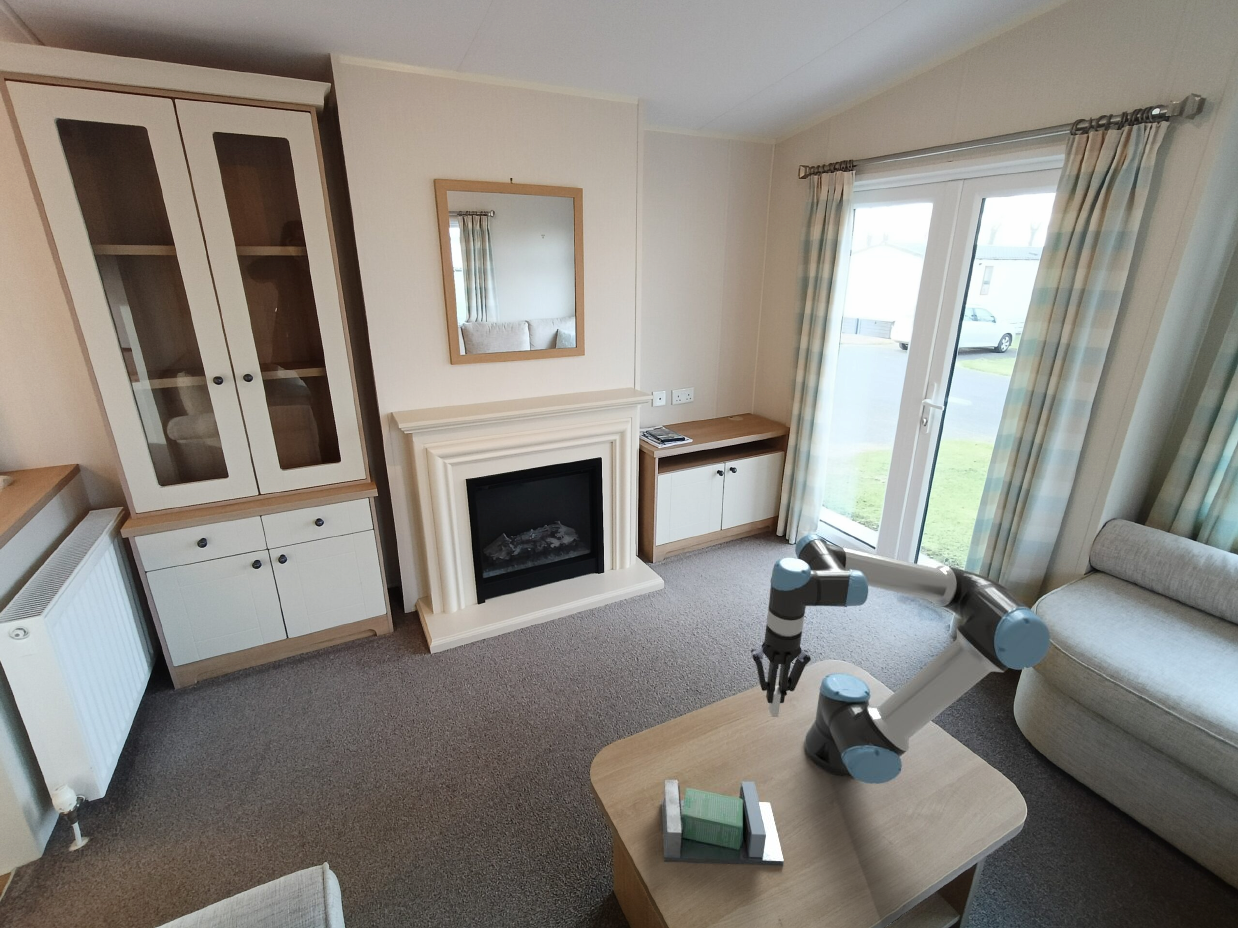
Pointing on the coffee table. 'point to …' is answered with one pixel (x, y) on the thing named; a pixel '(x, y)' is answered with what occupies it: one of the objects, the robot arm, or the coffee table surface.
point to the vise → (705, 852)
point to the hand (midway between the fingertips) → (773, 712)
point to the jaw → (752, 820)
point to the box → (713, 818)
